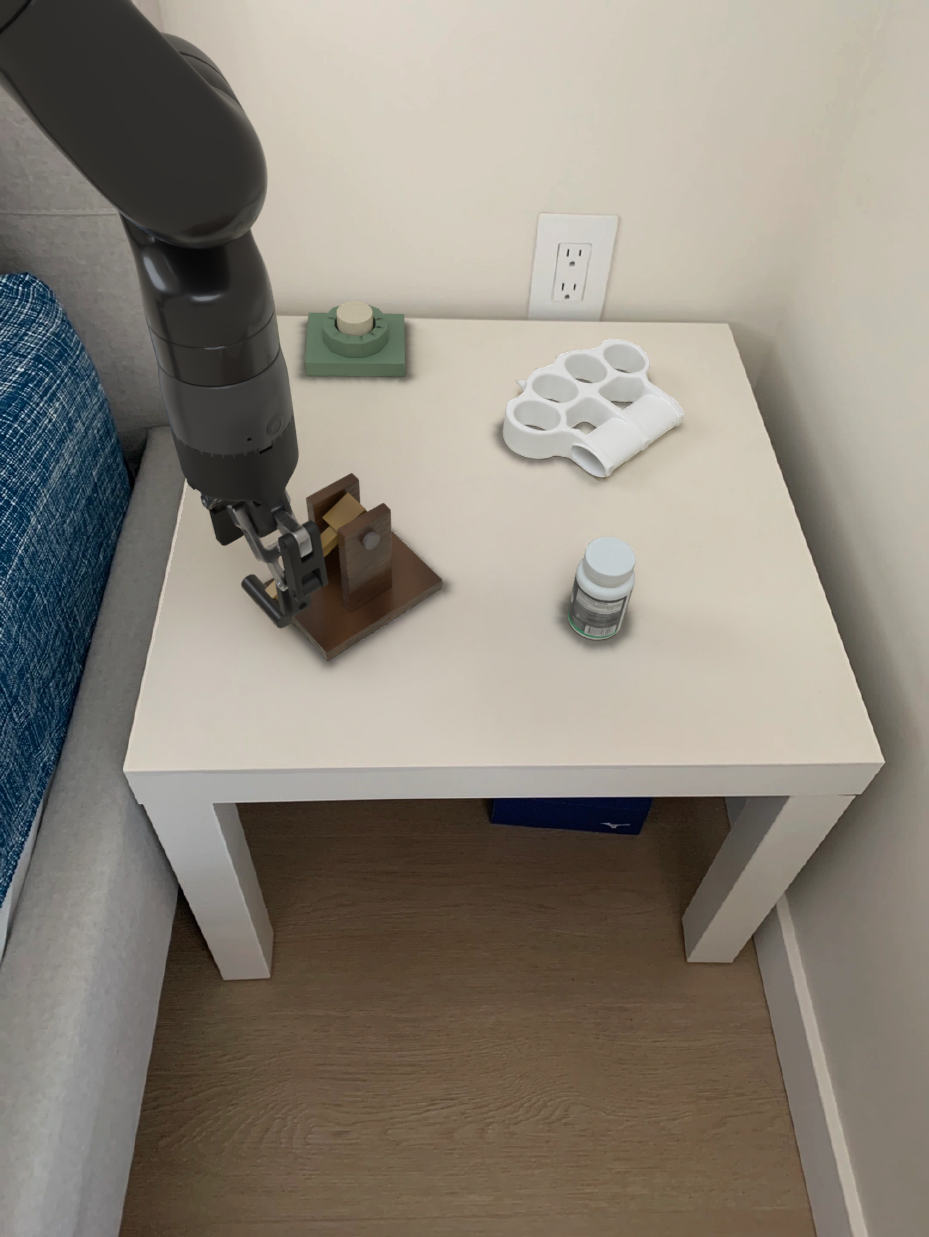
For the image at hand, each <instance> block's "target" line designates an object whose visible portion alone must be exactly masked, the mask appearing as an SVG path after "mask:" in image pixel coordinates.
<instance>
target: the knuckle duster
mask: <svg viewBox="0 0 929 1237" xmlns="http://www.w3.org/2000/svg"><path fill="white" fill-rule="evenodd" d="M650 368H651V360H650V356H649V354H648V353H647V352H646V351H645V349H644V348H642V347H641V346H640V345H638V344H636V343H635V342H633V341H630V340H626V339H621V338H605V339H604V340H603V341H602V342H601V343H600V344H599V345H597V346H595V347H592V348H586V349H571V350H569V351H566V352H563V353H560V354H558V355H557V354H556V355H555V360H554V361H553V362H551V363H550V364H549V365H546V366H543V367H539V368H535V369H534V370H533V371H532V373H530V375H529V376H528V377H527V379H517V380H515V383H516V384H517V386H518V387H519V388H520V389H521V391H522V393H520V394H519V395H518V396H516V397H514V398H511V399H509V400H507V402H506V404H505V408H504V417H503V424H502V437H503V440H504V443H505V445H506V446H507V447H508V448H509V449H510V450H511V451H512V452H514V453H515V454H517V455H519V456H522V457H524V458H527V459H533V460H534V459H535V460H542V459H548V458H549V459H550V458H551V457H555V456H556V457H561V458H566V459H567V458H568V459H570V460H571V461H572V462H574V463H575V464H577V465H578V466H579V467H580V468H582V469H583V470H584V471H585V472H587V473H589V475H592V476H595V477H597V478H605V477H609V476H611V475H612V474H613V471H615V470H616V469H617V468H619V467H620V466H622V465H623V464H625V463H626V462H627V461H628V460H630V459H631V458H632V457H634V456H635V455H637V454H639V453H640V452H641V451H642V452H644V451H645V450H647V448H648V447H649V445H651V444H652V443H653V442H655V441H656V440H658V439H659V438H660V437H662V436H663V435H664V434H666V433H667V432H669V431H670V430H671V429H673V428H675V427H678V426H680V425H681V424H682V421H683V420H684V418H685V412H684V409H683V408H682V406H681V405H680V403H679V402H678V401H677V400H676V399H675V398H674V397H673V396H671V395H670V394H668V393H666V391H664V390H663V389H661V388H660V387H659V386H658V385H656V384H654V383H653V382H651V381H650V380H649V377H648V376H649V372H650ZM580 380H584V381H587V382H583V381H580ZM613 402H618V403H619V402H620V403H631V404H630V405H627V407H625V408H623V409H622V408H621V407H619V406H617V405H616V404H614V403H613ZM580 423H588V424H591V425H592V426H593V427H595V428H594V429H593V430H592V431H591V432H589V433H587V434H586V433H585V432H583V431H582V430H581V429H578V428H574V427H576V426H577V425H578V424H580ZM529 426H534V427H537V428H540V429H535V428H533V427H529ZM541 429H542V430H541Z"/></svg>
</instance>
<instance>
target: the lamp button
mask: <svg viewBox="0 0 929 1237" xmlns="http://www.w3.org/2000/svg"><path fill="white" fill-rule="evenodd" d="M369 305H370V304H368V303H366V302H363V301H359V300H349V301H346V302H343V303H341V304H340V305H338V306H339V307H338V309H337V312H336V313H337V327H338V330H339V331H340V332H341V333H343V334H345V335H348V336H362V335H365V334H368V333H370V332H371V330H372V328H373V311H372V309H371V307H370V306H371V305H370V306H369Z"/></svg>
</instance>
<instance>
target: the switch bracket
mask: <svg viewBox="0 0 929 1237" xmlns="http://www.w3.org/2000/svg"><path fill="white" fill-rule="evenodd" d="M347 493H350V494H351V495H352V496H353V497H354V498H355V499H356V500H357V501H358V502H359V503H360V504H361V487H360V479H359V478H358V477H357V476H356V475H355V474H354V473H353V472H350V473H348V474H347V475H345V476H343V477H341V478H339V479H337V480H336V481H333V482H332V483H330V484H328V485H327V486H325V487H323V488H321V489H320V490H318V491H316V492H314V493H312V494H310V495H308V496H307V497H306V498H305V502H306V512H307V519H308V520H307V521H309V520H312V521H313V522H314V523H315V524H316V525H317V526H318V528H319V531H320V535H321V534H322V533H323V532H324V531H325V530H326V529H327V528H328V527H329V526H330V525H329V524H328V523H327V522H326V521H325V520H324V519H323V516H324V515H325V514H326V513H327V512H328V511H329V510H330V509H331V508H332V507H333V506H334V505H335V504H336V503H337V502H339V501H340V500H341V499H342V498H343V497H344V496H345V495H346V494H347ZM367 511H368V512H366V513H364V514H363V515H361V516H359V517H357V518H356V519H354V520H352V521H350V522H349V523H347V524H345V525H343V526H342V527H340V528H338V529H337V533H338V544H337V545H336V546H335V547H334V548H333V549H332V550H331V551H330V552H329V553H328V554H327V555H326V556H325V557H324V560H325V566H326V572H327V578H328V585H326V586H324V587H323V588H320V589H318V590H316V591H315V592H313V593H311V594H310V598H311V606H310V607H308V608H307V609H305V610H304V611H302V612H300V613H299V614H297V615H295V616H292V621H291V623H293V625H295V627H297V629H298V630H299V631H300V632H301V633H302V634H303V636H305V638H306V639H307V640H308V641H309V642H310V643H311V644H312V646H314V648H315V649H316V650H317V651H318V652H319V653H320V655H322V656H323V657H324V659H325V660H326V661H330V660H332V659H333V658H335V657H337V656H338V655H340V654H342V653H343V652H344V651H346V650H348V649H349V648H351V647H352V646H354V645H356V644H357V643H358V642H360V641H361V640H363V639H365V638H366V637H368V636H369V635H372V633H374V632H375V631H377V630H379V629H381V628H382V627H384V626H385V625H387V624H388V623H390V622H391V621H393V620H395V619H396V618H398V617H399V616H401V615H402V614H404V613H406V612H407V611H409V610H410V609H413V607H415V606H416V605H418V604H419V603H421V602H422V601H423V602H424V600H426V599H427V598H429V597H430V596H432V595H433V594H435V593H437V592H438V591H440V590H441V589H442V588H443V579H442V578H441V577H440V576H439V575H438V574H437V573H436V572H435V571H434V570H433V569H432V568H431V567H430V566H429V565H428V564H427V563H426V562H425V561H424V560H423V559H421V558H420V557H419V556H418V555H417V554H416V553H415V552H414V551H413V549H411V548H410V547H409V546H408V545H407V544H406V543H405V542H404V541H403V540H402V539H401V538H400V537H398V535H396V534H395V533H394V532H393V531H392V509H391V508H390V507H389V506H387V504H386V503H384V502H382V503H380V504H378V505H376V506H375V507H373V508H371V509H370V510H367ZM273 581H274V578H273V577H272V578H270V579H269V580H267V581H265V582H264V583H263V584H264V585H265V586H266V587H268V586H269V585H270V584H271V583H272V582H273Z"/></svg>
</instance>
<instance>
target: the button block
mask: <svg viewBox="0 0 929 1237" xmlns="http://www.w3.org/2000/svg"><path fill="white" fill-rule="evenodd" d="M368 305H369V306H370V307H371V309H372V311H373V328H372V330H371V332H370V333H368V334H365V335H362V336H348V335H345V334H343V333H341V332H340V331H339V330H338V327H337V313H336V312H337V309H338V307H339V306H340V305H337V306H334V307H332V308H331V309H329V311H328V312H308V314H307V326H306V327H307V328H306V340H305V354H304V370H305V376H307V377H309V376H313V377H315V376H317V377H318V376H319V377H323V376H324V377H406V340H405V339H406V337H405V336H406V335H405V334H406V333H405V314H404V313H384V312H382V310H381V309H380V308H379V307H375V306H373V305H370V304H368Z"/></svg>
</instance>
